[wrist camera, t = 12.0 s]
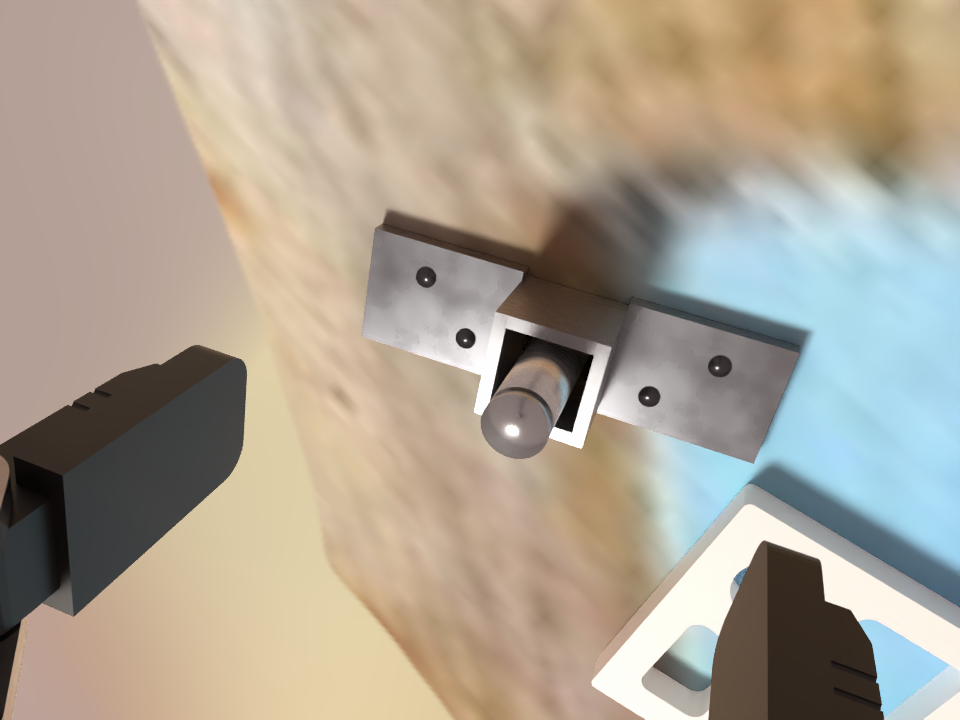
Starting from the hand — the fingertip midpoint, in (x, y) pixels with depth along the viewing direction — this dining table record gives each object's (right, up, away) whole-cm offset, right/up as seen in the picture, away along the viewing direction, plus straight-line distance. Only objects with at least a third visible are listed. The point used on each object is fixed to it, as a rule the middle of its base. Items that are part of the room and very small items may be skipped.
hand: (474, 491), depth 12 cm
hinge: (+5, +3, +34) cm, 34 cm away
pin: (+5, +3, +34) cm, 34 cm away
